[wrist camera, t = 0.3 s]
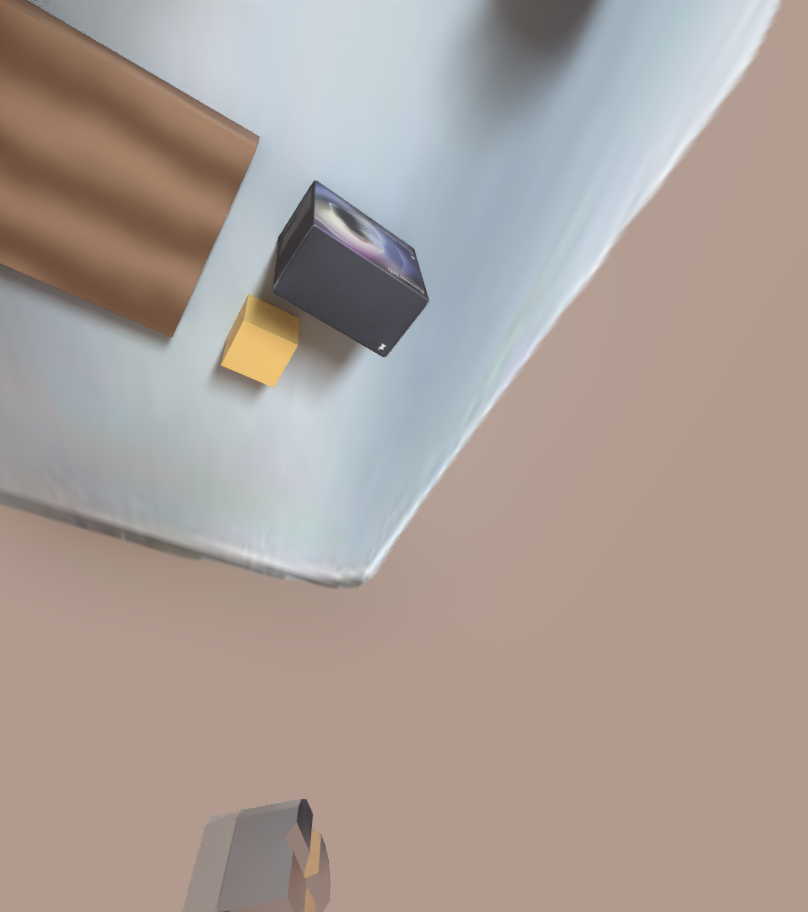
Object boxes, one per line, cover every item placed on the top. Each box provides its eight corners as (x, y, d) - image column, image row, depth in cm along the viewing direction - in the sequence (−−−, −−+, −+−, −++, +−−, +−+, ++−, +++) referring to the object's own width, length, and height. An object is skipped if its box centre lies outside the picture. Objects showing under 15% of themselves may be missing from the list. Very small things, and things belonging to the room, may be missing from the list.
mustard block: (248, 293, 59) (243, 320, 55) (299, 317, 61) (298, 345, 57) (227, 336, 61) (220, 365, 58) (276, 358, 63) (273, 387, 60)
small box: (419, 245, 58) (435, 300, 50) (377, 302, 61) (385, 363, 53) (315, 174, 53) (315, 221, 45) (275, 239, 56) (268, 295, 48)
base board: (5, -13, 43) (-12, -8, 41) (259, 136, 51) (256, 147, 48) (-44, 222, 53) (-61, 237, 50) (177, 320, 60) (172, 337, 57)
